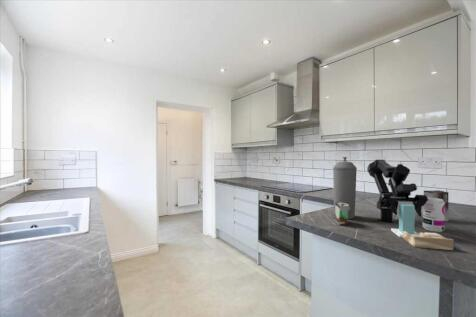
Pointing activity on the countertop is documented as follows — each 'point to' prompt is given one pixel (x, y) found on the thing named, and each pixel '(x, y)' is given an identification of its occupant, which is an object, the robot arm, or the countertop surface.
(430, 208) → the supplement can
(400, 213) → the teal rectangular block
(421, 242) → the oak rack
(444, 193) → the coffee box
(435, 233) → the offcut top
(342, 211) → the food container
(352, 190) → the canister
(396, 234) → the white pad
